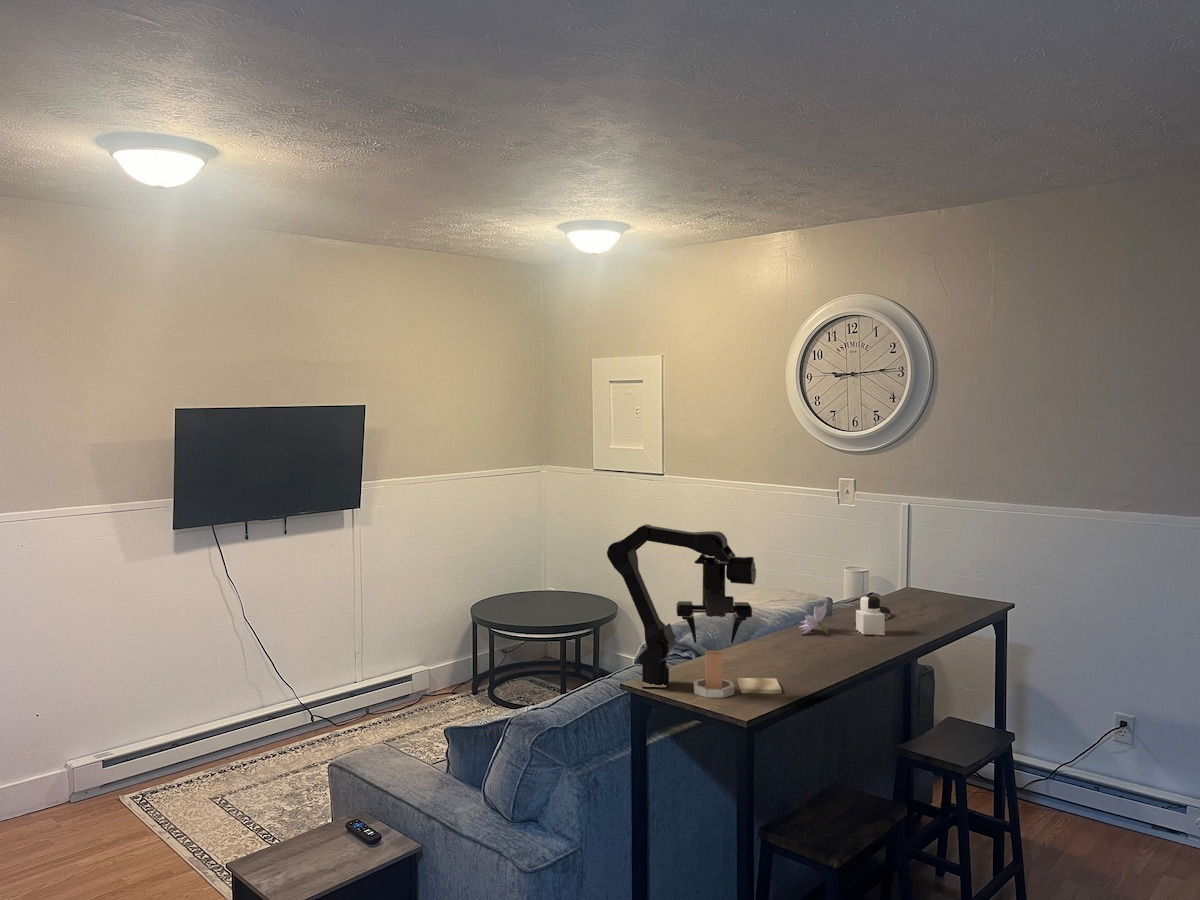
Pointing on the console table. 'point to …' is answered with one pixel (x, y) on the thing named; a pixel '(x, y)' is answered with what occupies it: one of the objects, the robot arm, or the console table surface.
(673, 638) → the robot arm
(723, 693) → the metal ring
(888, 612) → the hairbrush
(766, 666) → the console table surface
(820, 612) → the water lily
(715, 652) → the peg
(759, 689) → the maple board
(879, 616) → the medicine bottle
